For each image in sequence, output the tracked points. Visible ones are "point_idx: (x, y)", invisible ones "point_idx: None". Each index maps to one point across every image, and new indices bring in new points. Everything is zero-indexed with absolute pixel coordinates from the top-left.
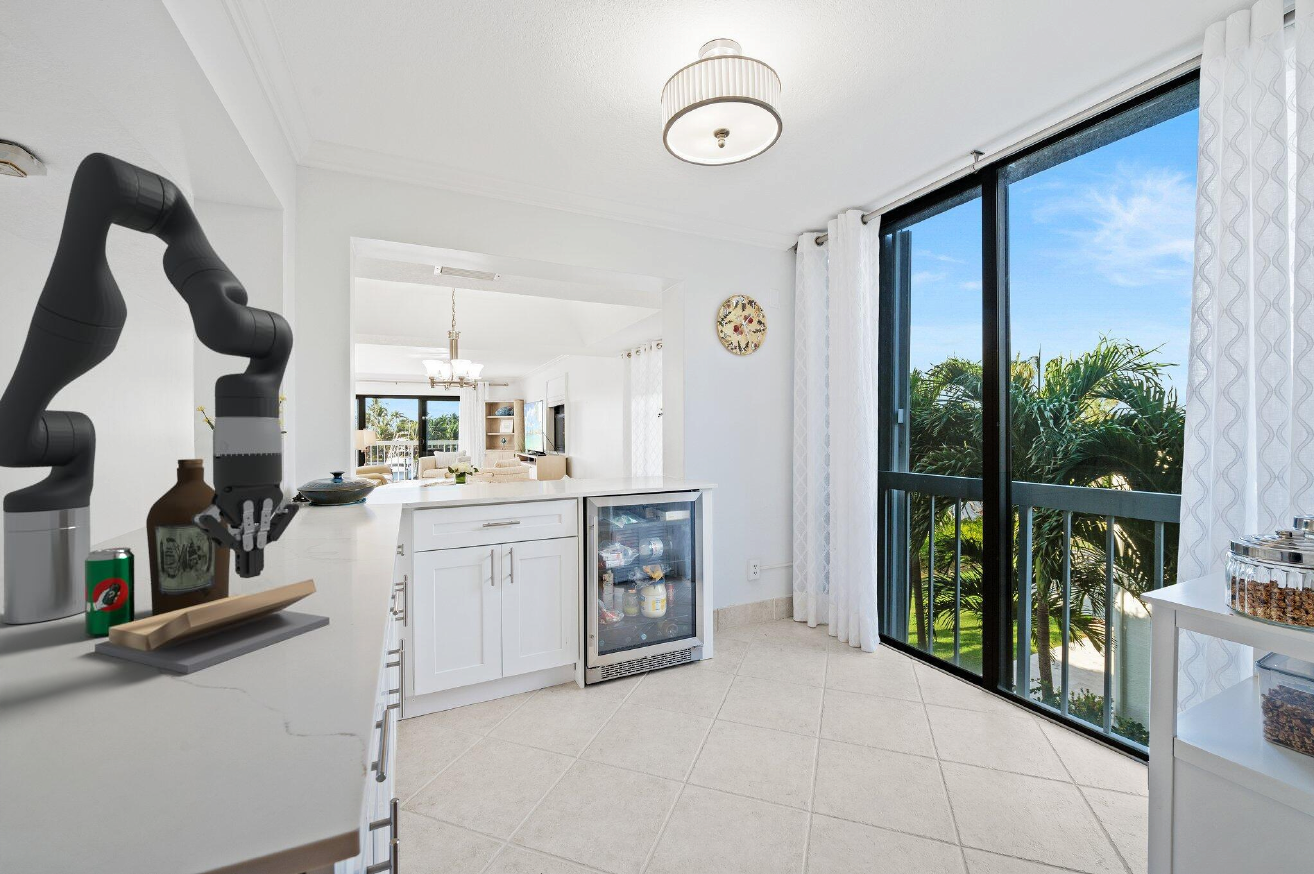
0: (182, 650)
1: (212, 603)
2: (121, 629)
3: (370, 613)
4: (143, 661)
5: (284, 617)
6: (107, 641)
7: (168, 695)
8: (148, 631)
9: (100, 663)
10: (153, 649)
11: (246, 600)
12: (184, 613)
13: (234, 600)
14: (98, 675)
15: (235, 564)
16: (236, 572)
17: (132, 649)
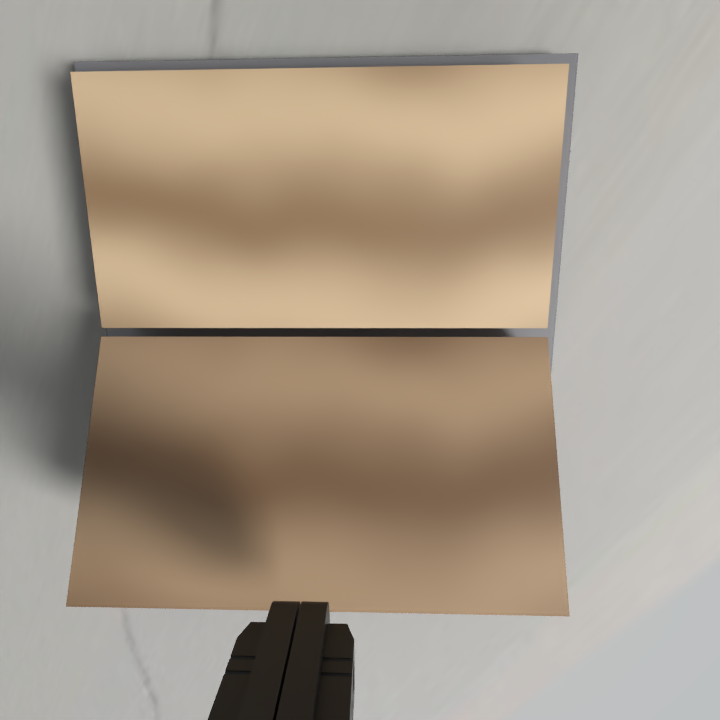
0: None
1: (421, 109)
2: (84, 157)
3: (649, 579)
4: None
5: None
6: (106, 68)
7: (73, 613)
8: (122, 287)
9: (65, 223)
10: (143, 330)
11: None
12: (69, 589)
13: (230, 606)
14: (33, 330)
15: (225, 672)
16: (243, 633)
17: None
